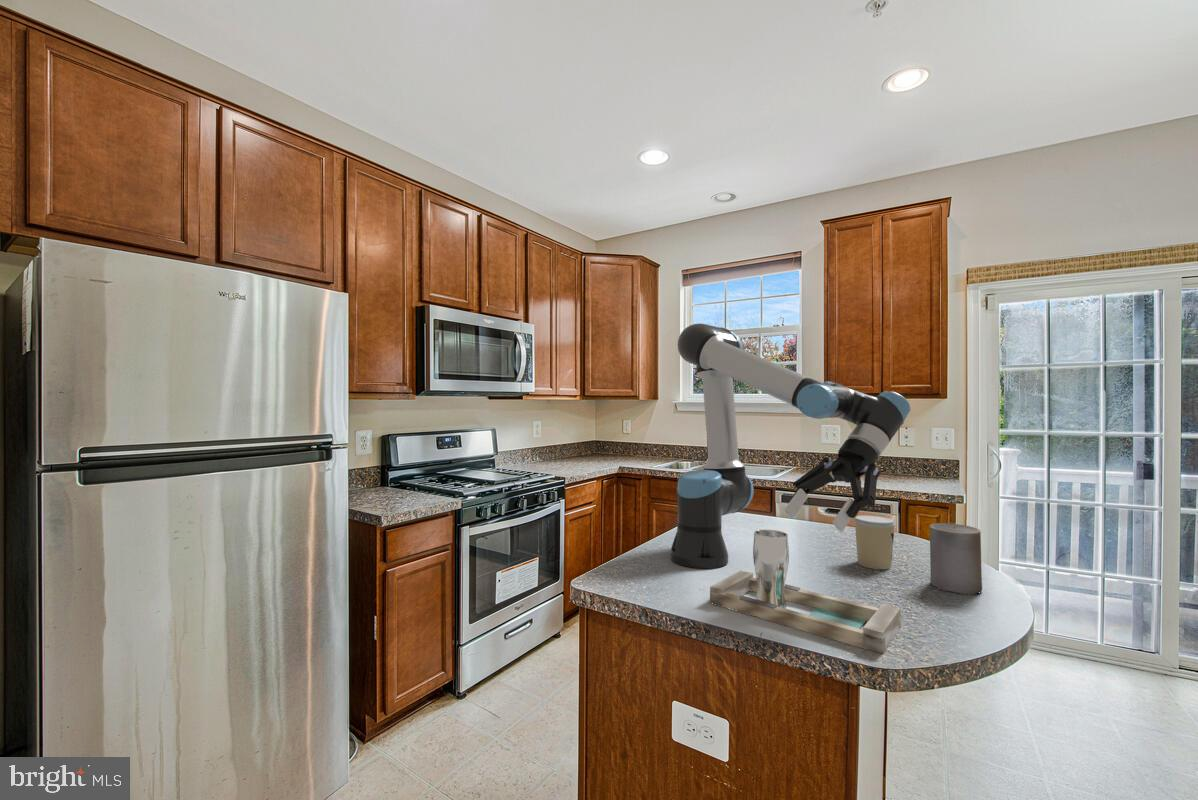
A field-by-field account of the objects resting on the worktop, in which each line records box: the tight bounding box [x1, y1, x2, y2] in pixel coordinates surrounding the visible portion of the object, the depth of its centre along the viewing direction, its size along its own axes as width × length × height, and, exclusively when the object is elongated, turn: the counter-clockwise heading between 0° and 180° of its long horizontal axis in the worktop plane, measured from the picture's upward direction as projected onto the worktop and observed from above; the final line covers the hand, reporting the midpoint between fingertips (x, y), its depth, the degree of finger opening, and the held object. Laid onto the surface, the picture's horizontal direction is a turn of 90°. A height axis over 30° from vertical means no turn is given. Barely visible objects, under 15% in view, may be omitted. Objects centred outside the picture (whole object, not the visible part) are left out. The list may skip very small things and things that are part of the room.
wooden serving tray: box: [709, 570, 902, 655], centre depth 99 cm, size 32×14×4 cm, turn 49°
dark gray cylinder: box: [929, 521, 983, 595], centre depth 116 cm, size 10×10×15 cm
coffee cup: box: [854, 515, 896, 570], centre depth 132 cm, size 9×9×12 cm
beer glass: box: [752, 529, 790, 609], centre depth 103 cm, size 7×7×15 cm
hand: (811, 520), depth 108 cm, fingers open, 13 cm apart
